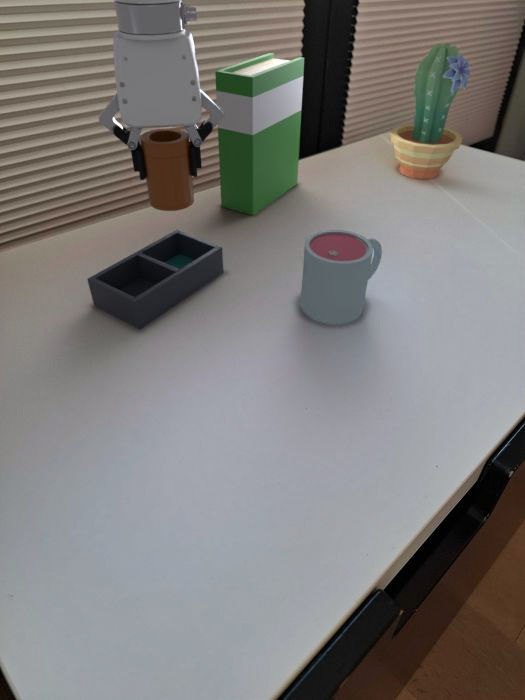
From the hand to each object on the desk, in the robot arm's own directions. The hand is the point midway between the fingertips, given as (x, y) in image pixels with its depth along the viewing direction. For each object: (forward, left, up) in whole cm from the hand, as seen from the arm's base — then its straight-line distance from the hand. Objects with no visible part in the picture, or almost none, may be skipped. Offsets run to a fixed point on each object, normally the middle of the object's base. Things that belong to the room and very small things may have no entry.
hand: (168, 173), depth 69 cm
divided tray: (0, -4, -17) cm, 17 cm away
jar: (0, 0, -4) cm, 4 cm away
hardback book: (-8, +33, -17) cm, 38 cm away
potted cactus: (+13, +65, -17) cm, 69 cm away
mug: (+24, +10, -17) cm, 31 cm away
